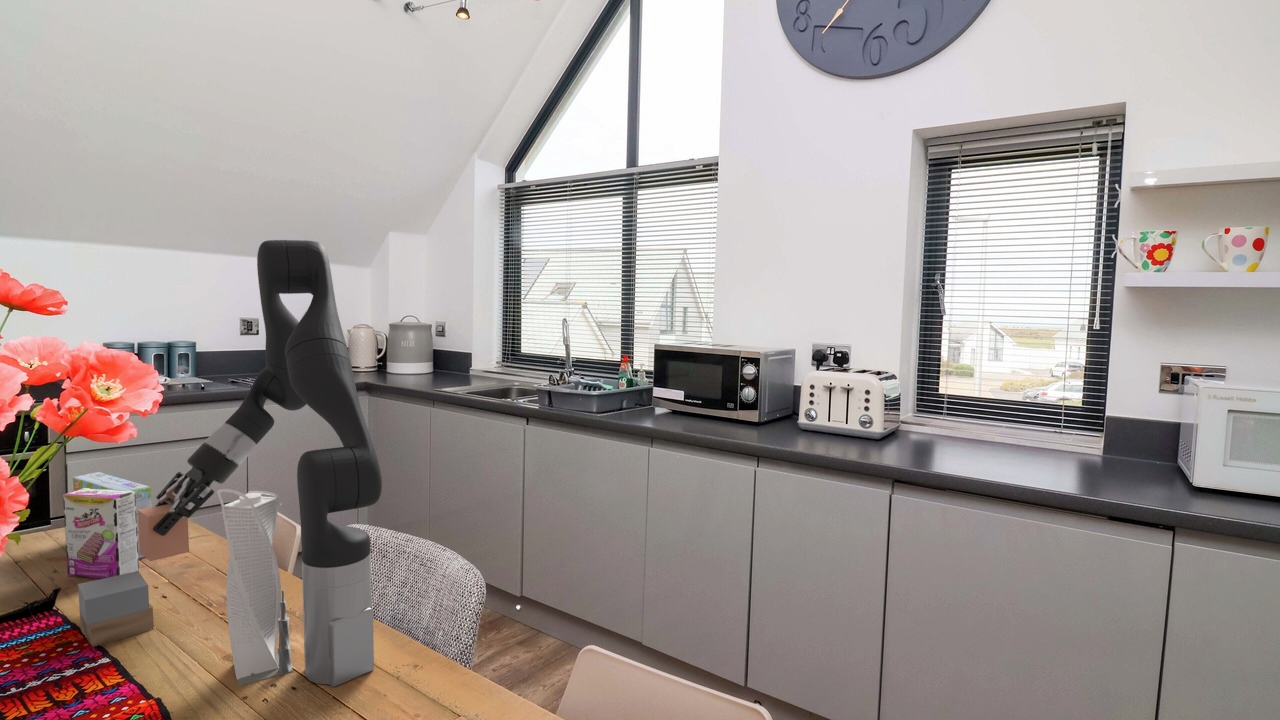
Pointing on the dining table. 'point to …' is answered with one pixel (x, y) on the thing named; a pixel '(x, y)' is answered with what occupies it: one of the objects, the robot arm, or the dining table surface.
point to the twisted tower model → (255, 589)
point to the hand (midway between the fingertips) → (152, 528)
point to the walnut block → (117, 627)
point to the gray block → (113, 597)
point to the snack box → (116, 483)
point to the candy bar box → (100, 533)
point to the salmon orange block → (159, 545)
